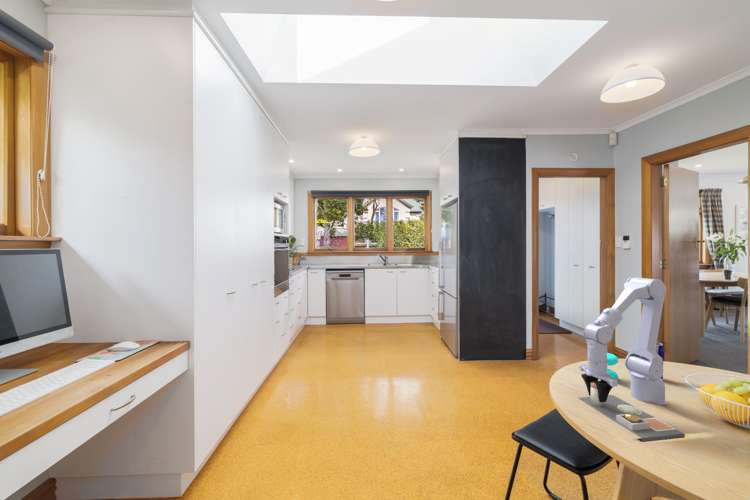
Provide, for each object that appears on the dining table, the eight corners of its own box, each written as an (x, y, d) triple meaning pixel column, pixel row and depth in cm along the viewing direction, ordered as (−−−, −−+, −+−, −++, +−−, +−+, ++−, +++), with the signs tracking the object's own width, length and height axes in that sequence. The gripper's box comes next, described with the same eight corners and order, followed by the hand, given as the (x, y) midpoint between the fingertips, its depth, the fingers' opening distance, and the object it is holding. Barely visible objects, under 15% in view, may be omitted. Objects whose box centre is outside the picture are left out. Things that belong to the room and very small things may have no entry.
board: (612, 398, 122) (612, 390, 121) (684, 437, 97) (684, 427, 97) (577, 401, 120) (577, 392, 120) (641, 442, 95) (641, 431, 95)
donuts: (611, 360, 132) (584, 353, 141) (611, 385, 132) (584, 376, 141) (622, 355, 137) (596, 349, 146) (622, 379, 138) (596, 371, 146)
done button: (632, 417, 104) (632, 411, 104) (642, 424, 100) (642, 417, 100) (621, 418, 103) (621, 412, 103) (632, 425, 100) (632, 418, 100)
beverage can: (666, 381, 135) (666, 344, 134) (651, 380, 136) (651, 344, 136) (658, 376, 140) (658, 341, 139) (644, 375, 141) (644, 340, 141)
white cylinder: (598, 400, 117) (598, 380, 117) (607, 405, 113) (607, 385, 113) (587, 401, 117) (587, 381, 117) (596, 406, 113) (596, 386, 113)
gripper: (571, 353, 122) (571, 390, 122) (603, 368, 107) (603, 409, 107) (589, 352, 122) (589, 388, 123) (623, 366, 108) (623, 408, 108)
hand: (597, 398), depth 115 cm, fingers closed on white cylinder, 4 cm apart
